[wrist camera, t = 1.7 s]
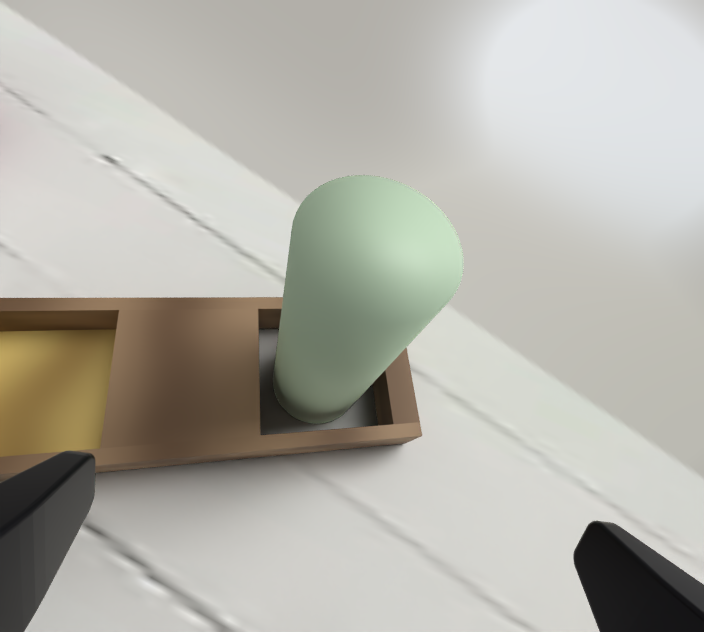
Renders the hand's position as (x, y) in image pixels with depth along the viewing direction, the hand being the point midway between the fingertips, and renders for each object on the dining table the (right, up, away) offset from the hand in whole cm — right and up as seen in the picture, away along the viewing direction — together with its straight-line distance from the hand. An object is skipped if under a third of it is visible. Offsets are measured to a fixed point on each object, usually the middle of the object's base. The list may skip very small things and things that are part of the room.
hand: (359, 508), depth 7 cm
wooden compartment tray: (-8, 0, +12) cm, 14 cm away
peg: (-2, 0, +13) cm, 14 cm away
